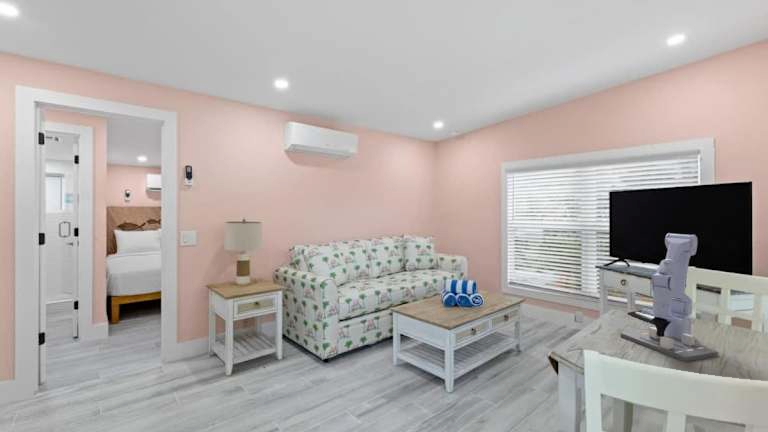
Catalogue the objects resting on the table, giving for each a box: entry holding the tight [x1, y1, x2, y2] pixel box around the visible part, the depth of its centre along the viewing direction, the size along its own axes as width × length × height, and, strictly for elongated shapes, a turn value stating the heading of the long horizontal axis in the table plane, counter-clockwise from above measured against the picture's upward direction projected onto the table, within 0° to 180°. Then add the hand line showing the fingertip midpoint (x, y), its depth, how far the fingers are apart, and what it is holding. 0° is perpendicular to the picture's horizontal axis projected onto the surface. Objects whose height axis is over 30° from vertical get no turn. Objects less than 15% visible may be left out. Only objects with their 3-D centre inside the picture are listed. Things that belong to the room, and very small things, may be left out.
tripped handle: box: [648, 326, 660, 339], centre depth 140 cm, size 3×3×4 cm
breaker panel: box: [620, 328, 719, 362], centre depth 136 cm, size 18×24×5 cm
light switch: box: [626, 310, 655, 326], centre depth 167 cm, size 20×3×14 cm
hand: (660, 336), depth 138 cm, fingers closed
